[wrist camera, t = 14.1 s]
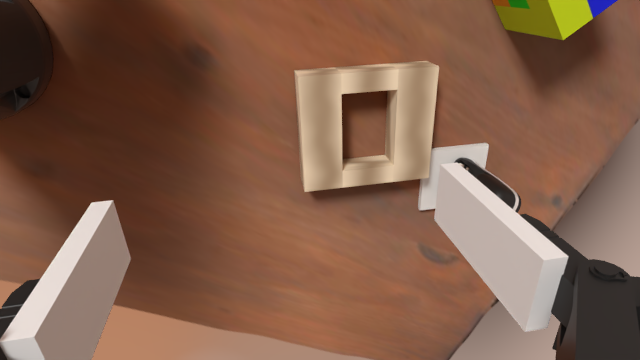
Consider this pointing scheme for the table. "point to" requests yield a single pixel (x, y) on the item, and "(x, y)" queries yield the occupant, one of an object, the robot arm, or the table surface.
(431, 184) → the white square tile
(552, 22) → the puzzle toy
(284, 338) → the table surface
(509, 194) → the battery charger
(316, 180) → the holder block
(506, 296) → the robot arm
